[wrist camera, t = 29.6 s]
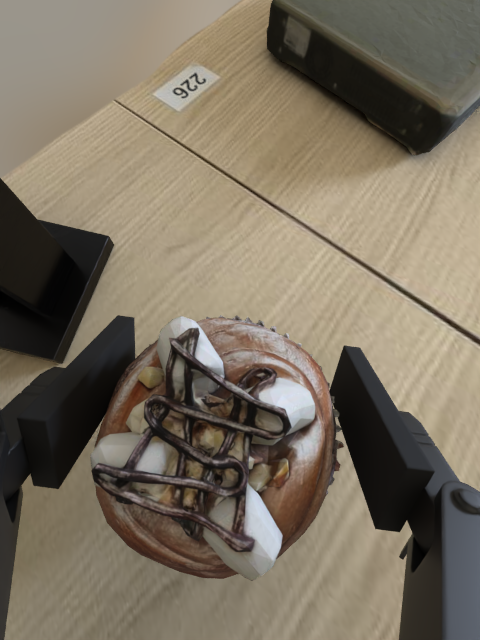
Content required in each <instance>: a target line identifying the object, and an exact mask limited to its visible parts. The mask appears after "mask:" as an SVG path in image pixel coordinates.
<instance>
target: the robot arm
mask: <svg viewBox="0 0 480 640" xmlns="http://www.w3.org/2000/svg"><path fill="white" fill-rule="evenodd" d="M134 360H135V331H134V318H133V317H126V316H117V317H116V318H115V319H114V320H113V321H112V322H111V323H110V324H109V325H108V326H107V327H106V328H105V329H104V330H103V331H102V332H101V333H100V334H99V335H98V336H97V337H96V338H95V339H94V340H93V341H92V342H91V343H90V344H89V345H88V346H87V347H86V348H85V349H84V350H83V351H82V352H81V353H80V354H79V355H78V356H77V357H76V358H75V359H74V360H73V361H72V362H71V363H70V364H69V365H68V366H67V367H66V368H60V367H53V368H51V369H49V370H47V371H45V372H44V373H42V374H40V375H39V376H38V377H37V378H36V379H35V380H33V381H32V382H31V383H30V386H29V385H28V386H27V387H26V388H25V389H24V390H23V391H22V393H19V394H18V395H17V396H16V397H15V398H14V399H13V400H12V401H11V402H10V403H8V404H7V405H6V406H5V407H4V408H3V409H2V410H0V640H4V637H5V629H6V621H7V614H8V606H9V598H10V590H11V583H12V575H13V567H14V560H15V552H16V544H17V537H18V529H19V521H20V514H21V506H22V498H23V491H22V486H21V485H22V484H23V482H24V481H25V480H26V478H27V477H28V476H29V474H30V473H31V477H32V481H33V485H34V486H40V487H48V488H56V489H59V487H60V486H61V484H62V483H63V481H64V480H65V478H66V476H67V475H68V473H69V472H70V470H71V468H72V467H73V465H74V464H75V462H76V460H77V459H78V457H79V456H80V454H81V453H82V451H83V449H84V448H85V446H86V445H87V443H88V441H89V440H90V438H91V437H92V435H93V433H94V432H95V430H96V429H97V427H98V425H99V424H100V422H101V421H102V419H103V418H104V416H105V414H106V413H107V408H108V406H109V403H110V400H111V398H112V395H113V393H114V390H115V387H116V385H117V382H118V381H119V379H120V378H121V376H122V375H123V373H124V372H125V370H126V369H127V367H128V366H129V365H130V364H131V363H132V362H133V361H134ZM329 392H330V396H333V397H334V403H333V405H334V408H335V410H337V411H338V412H339V417H338V420H339V423H340V426H341V428H342V432H343V435H344V438H345V440H346V443H347V446H348V449H349V452H350V455H351V458H352V461H353V464H354V467H355V470H356V473H357V476H358V479H359V482H360V485H361V488H362V491H363V494H364V497H365V499H366V502H367V505H368V508H369V511H370V514H371V517H372V520H373V523H374V526H375V529H380V530H388V531H396V532H400V531H401V529H402V527H403V526H404V524H405V522H406V521H408V523H409V526H410V528H411V530H412V535H411V537H410V538H409V540H408V542H407V543H406V545H405V546H404V548H403V550H402V551H401V554H400V556H399V557H400V558H401V559H404V557H405V556H406V554H407V560H406V570H405V581H404V591H403V602H402V612H401V623H400V633H399V640H480V492H479V491H478V490H476V489H474V488H473V487H471V486H469V485H467V484H465V483H462V482H460V481H459V479H458V478H457V476H456V475H455V473H454V472H453V470H452V469H451V467H450V466H449V465H448V463H447V462H446V460H445V459H444V457H443V456H442V454H441V453H440V451H439V450H438V448H437V447H436V446H435V444H434V442H433V441H432V439H431V438H430V437H429V436H428V433H427V432H426V430H425V429H424V427H423V426H422V424H421V423H420V422H419V421H418V420H417V419H416V418H415V417H413V416H412V415H411V414H410V413H409V412H402V411H398V410H397V408H396V406H395V405H394V403H393V401H392V400H391V398H390V396H389V395H388V393H387V391H386V390H385V388H384V387H383V385H382V383H381V382H380V380H379V378H378V377H377V375H376V373H375V372H374V370H373V368H372V367H371V365H370V363H369V362H368V360H367V358H366V357H365V355H364V354H363V352H362V350H361V349H360V348H358V347H350V346H344V347H343V350H342V353H341V356H340V360H339V363H338V366H337V369H336V372H335V375H334V379H333V382H332V385H331V388H330V391H329Z"/></svg>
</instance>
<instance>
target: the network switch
mask: <svg viewBox="0 0 480 640" xmlns="http://www.w3.org/2000/svg"><path fill="white" fill-rule="evenodd" d="M267 49H268V50H269V51H270V52H271V53H272V54H273V55H274V56H275V57H276V58H277V59H279V60H280V61H283V62H285V63H287V64H289V65H291V66H293V67H295V68H296V69H298V70H299V71H301V72H302V73H304V74H305V75H307V76H308V77H310V78H311V79H313V80H314V81H316V82H317V83H319V84H320V85H321V86H323V87H324V88H326V89H328V90H329V91H331V92H333V93H334V94H336V95H337V96H339V97H340V98H342V99H343V100H344V101H346V102H347V103H349V104H351V105H352V106H354V107H356V108H357V109H359V110H360V111H361V112H363V113H364V114H365V115H366V118H367V119H368V121H370V122H371V123H372V124H373V125H375V126H377V127H379V128H380V129H382V130H383V131H385V132H386V133H388V134H389V135H391V136H393V137H394V138H396V139H397V140H398V141H399V142H400V143H402V144H403V145H405V146H406V147H407V148H408V150H409V151H410V153H411V154H413V155H419V154H422V153H425V152H430V151H431V150H432V149H433V148H434V147H435V146H436V145H437V144H439V143H440V142H441V141H442V140H443V139H445V138H446V137H447V136H448V135H449V134H451V133H452V132H453V131H454V130H455V129H456V128H457V127H459V126H460V125H461V124H462V123H463V122H464V121H465V120H466V119H467V118H468V117H469V116H470V115H471V114H472V113H473V112H474V111H475V110H476V109H477V108H478V107H479V106H480V0H273V1H272V3H271V8H270V17H269V26H268V28H267Z"/></svg>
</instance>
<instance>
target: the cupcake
mask: <svg viewBox="0 0 480 640" xmlns="http://www.w3.org/2000/svg"><path fill="white" fill-rule="evenodd" d="M301 345H302V344H301V343H298V344H296V343H294V342H293V341H291V340H289V334H287V333H285V334H284V335H283V336H281V335H279V334H277V331H276V326H272V327H271V328H270V330H269V329H267V328H265V326H264V322H263V321H260V320H259V321H258V323H257V324H255V323H252V321H251V320H250V319H249V318H248V317H247V318H246V320H245V321H242V320H241V319H240V318H239V317H238V316H236V317H234V318H233V319H226V318H224V317H223V316H221V315H220V317H219V318H209V317H207V318H206V319H203V320H200V321H198V322H195V321H194V320H191V319H188V318H185V317H183V316H180V317H178V318H175V319H172V320H171V321H170V322H169V323H168V324H167V325H166V326H165V327H164V328H162V329H161V332H160V334H159V338H158V340H157V341H156V342H155V343H153V344H152V345H150V344H149V347H147V348H146V349H145V350H144V351H143V352H142V353H141V354H140V355H139V356H138V357H137V358H136V359H135V360H134V361H133V362H132V363H131V364H130V365H129V366H128V367H127V369H126V370H125V372H124V373H123V375H122V376H121V378H120V379H119V381H118V382H117V385H116V387H115V390H114V393H113V395H112V398H111V400H110V403H109V406H108V408H107V413H106V415H105V417H104V419H103V422H102V424H101V427H100V431H99V434H98V437H97V441H96V444H95V449H94V450H93V452H92V454H91V467H92V475H93V479H94V484H95V485H96V495H97V498H98V500H99V503H100V505H101V508H102V511H103V513H104V516H105V518H106V521H107V523H108V524H109V525H110V526H111V527H112V529H113V530H114V531H115V532H116V533H117V534H118V535H119V536H120V537H121V538H122V539H123V541H124V542H125V543H126V544H127V545H128V546H129V547H131V548H132V549H133V550H135V551H136V552H138V553H139V554H141V555H142V556H145V557H147V558H149V559H151V560H154V561H156V562H158V563H161V564H163V565H165V566H167V567H170V568H172V569H175V570H177V571H179V572H183V573H187V574H191V575H194V576H198V577H202V578H219V579H224V578H227V577H230V576H233V575H236V574H240V575H242V576H243V577H245V578H247V579H249V580H251V581H253V580H255V579H256V578H258V577H260V576H262V575H263V574H264V573H266V572H267V571H268V570H269V569H271V568H272V567H273V565H274V563H275V560H276V559H277V558H278V557H279V556H281V555H282V554H283V553H284V552H285V551H286V550H287V549H288V548H289V547H290V546H291V545H292V544H293V543H295V542H296V541H297V540H298V539H299V538H300V537H301V536H302V535H303V534H304V533H305V531H306V530H307V529H308V527H309V526H310V524H311V523H312V522H313V520H314V519H315V518H316V516H317V514H318V512H319V509H320V507H321V505H322V503H323V501H324V498H325V496H326V495H327V494H328V491H327V489H328V487H329V485H332V483H333V481H334V478H333V474H334V471H339V468H340V464H339V463H338V461H337V458H336V456H337V449H339V448H342V447H344V446H343V443H342V442H340V441H337V440H335V438H336V432H339V431H340V430H342V428H341V427H339V426H338V425H336V422H335V417H339V412H338V411H337V410H335V409H333V406H332V403H334V397H333V396H330V392H329V383H328V382H327V381H326V379H325V377H324V375H323V372H322V368H321V366H319V365H318V364H317V363H316V362H315V361H314V359H313V358H312V355H309V354H308V352H306V351H305V350H304V349H302V348H301Z"/></svg>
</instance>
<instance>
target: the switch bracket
mask: <svg viewBox="0 0 480 640" xmlns="http://www.w3.org/2000/svg"><path fill="white" fill-rule="evenodd" d="M113 246H114V244H113V242H112V240H111V239H110V237H109V236H106V235H102V234H97V233H93V232H89V231H84V230H80V229H76V228H72V227H67V226H63V225H59V224H54V223H50V222H46V221H42V220H37V219H36V218H35V216H34V215H33V214H32V213H31V212H30V211H29V210H28V209H27V207H26V206H25V205H24V204H23V203H22V202H21V201H20V200H19V198H18V197H17V196H16V195H15V194H14V193H13V192H12V191H11V190H10V188H9V187H8V186H7V185H6V184H5V183H4V182H3V181H2V179H1V178H0V349H3V350H8V351H12V352H16V353H20V354H24V355H28V356H32V357H36V358H40V359H45V360H49V361H53V362H57V363H61V364H62V363H63V361H64V359H65V356H66V354H67V352H68V349H69V347H70V345H71V343H72V340H73V338H74V336H75V333H76V331H77V329H78V326H79V324H80V322H81V320H82V317H83V315H84V313H85V310H86V308H87V306H88V303H89V301H90V299H91V297H92V294H93V292H94V290H95V287H96V285H97V283H98V280H99V278H100V276H101V274H102V271H103V269H104V267H105V264H106V262H107V260H108V257H109V255H110V253H111V251H112V248H113Z"/></svg>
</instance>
